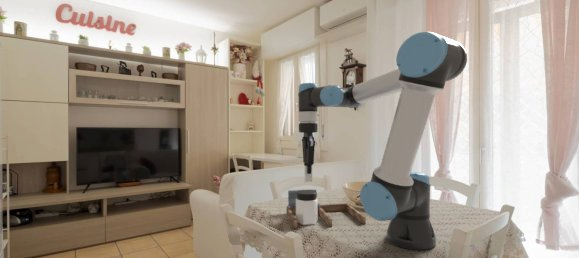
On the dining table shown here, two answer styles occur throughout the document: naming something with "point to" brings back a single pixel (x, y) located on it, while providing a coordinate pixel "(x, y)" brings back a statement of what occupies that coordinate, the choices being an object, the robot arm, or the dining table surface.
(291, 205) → the wooden divider rails
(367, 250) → the dining table surface
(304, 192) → the jar
